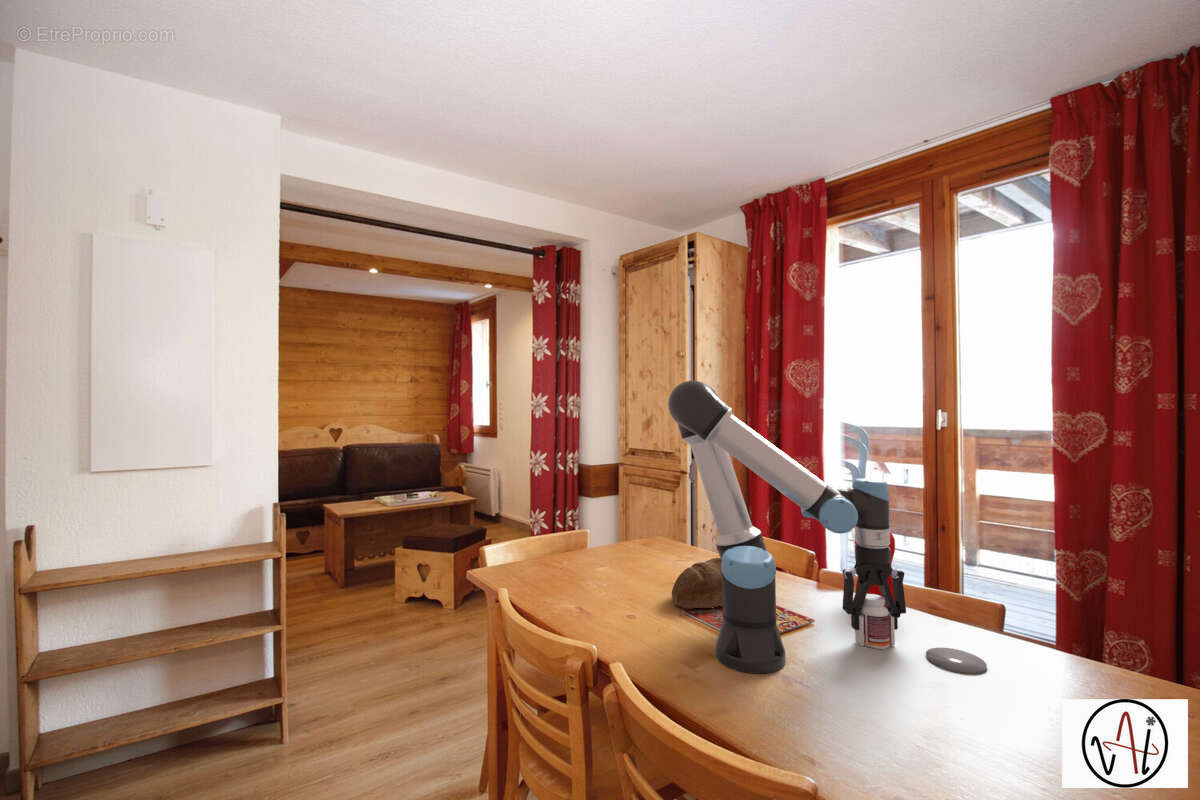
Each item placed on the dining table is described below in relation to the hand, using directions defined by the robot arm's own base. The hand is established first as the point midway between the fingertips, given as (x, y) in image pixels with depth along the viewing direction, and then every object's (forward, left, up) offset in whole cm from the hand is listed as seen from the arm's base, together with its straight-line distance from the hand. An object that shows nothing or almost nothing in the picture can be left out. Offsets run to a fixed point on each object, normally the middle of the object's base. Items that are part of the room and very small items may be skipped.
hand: (874, 642), depth 124 cm
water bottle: (+13, +26, 0) cm, 29 cm away
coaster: (+13, -9, 0) cm, 16 cm away
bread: (-31, +32, -1) cm, 45 cm away
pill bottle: (0, 0, -1) cm, 1 cm away
